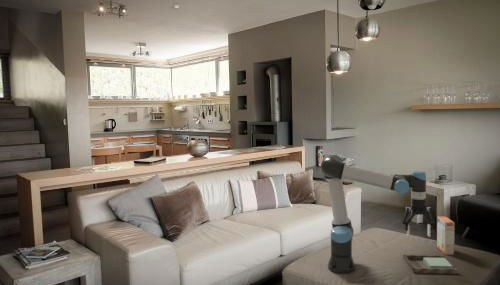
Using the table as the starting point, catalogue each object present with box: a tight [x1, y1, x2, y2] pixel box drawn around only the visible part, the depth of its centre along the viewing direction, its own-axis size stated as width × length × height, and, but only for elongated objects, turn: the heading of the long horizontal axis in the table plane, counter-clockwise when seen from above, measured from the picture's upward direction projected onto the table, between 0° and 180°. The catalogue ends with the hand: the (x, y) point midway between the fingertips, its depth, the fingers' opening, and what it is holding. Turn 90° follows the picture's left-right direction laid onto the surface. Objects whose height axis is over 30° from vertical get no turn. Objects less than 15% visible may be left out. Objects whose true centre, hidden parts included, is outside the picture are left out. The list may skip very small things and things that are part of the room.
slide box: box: [402, 254, 459, 275], centre depth 224 cm, size 23×20×3 cm
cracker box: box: [436, 215, 456, 256], centre depth 245 cm, size 14×6×21 cm, turn 172°
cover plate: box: [423, 257, 453, 268], centre depth 223 cm, size 12×12×2 cm
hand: (418, 236), depth 223 cm, fingers open, 11 cm apart
